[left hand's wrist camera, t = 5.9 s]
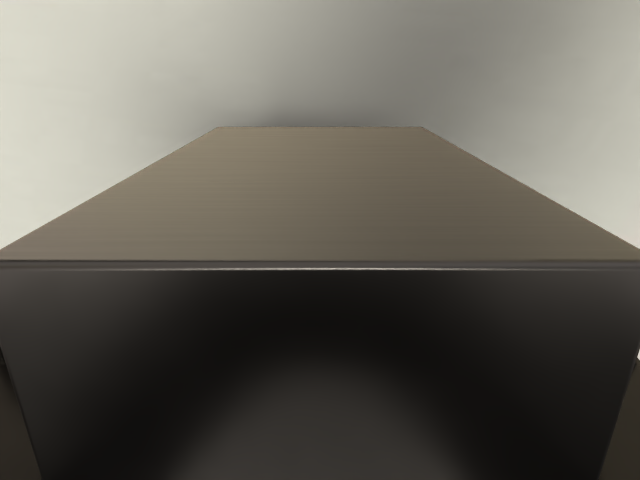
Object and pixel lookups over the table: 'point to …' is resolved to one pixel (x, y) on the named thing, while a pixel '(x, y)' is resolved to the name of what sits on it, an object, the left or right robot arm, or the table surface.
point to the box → (320, 318)
